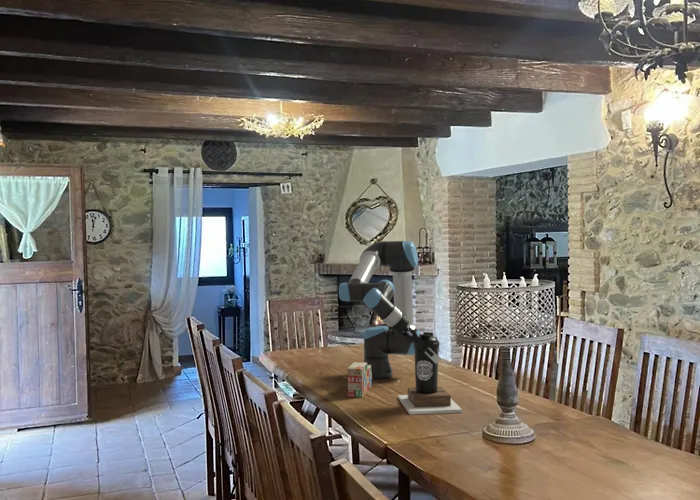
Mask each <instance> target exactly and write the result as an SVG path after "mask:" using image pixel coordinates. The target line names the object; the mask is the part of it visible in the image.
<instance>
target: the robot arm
mask: <svg viewBox="0 0 700 500" xmlns="http://www.w3.org/2000/svg"><path fill="white" fill-rule="evenodd" d="M418 264H419V257H418V251H417V247H416V244H415V243H414V242H413V241H409V240H396V241H395V240H391V241H389V240H387V241H385V240H384V241H382V240H381V241H378V242H375V243H372V244H370V245H369V246H368V247H366V248H365V249H364V250H363V251H362V253H361V254H360V256H359V263H358V265H357V267H355V270H354V272H353V274H352V275H351V277H350V280H349V281H348V282H342V283H340V284H339V287H338V297H339V299H340V300H341V301H342V302H363V303H364V305H366V306H367V308H369V309H370V310H371V311H372V312H373V313H374V314H375V315H376V316H378V318H379V319H380V320H382V324H384V325H380V326H379V325H377V326H372V327H368V328H366V329H365V330H364V332H363V355H364V356H363V358H364V359H363V362H366V363H367V365H371V372H372V380H375V379H376V380H379V379H380V380H381V379H389V378H391V377H393V368H392V366H391V363H390V358H389V355H399V356H400V355H401V356H415V350H414V342H415V343H416V344H417V345H418V346H419V347H420V348H421V349H422V350H423V351H422V353H425V354H426V355H427V356H428V357H429V358H431V359H432V360H433V361H434V362H435V363H437V362H438V363H439V361H440V360H441V357H440V356H439V354H438V355H437V354H436V353H435V352H434V351H432V350H431V349H430V348H429V346H427V345H426V344H425V343H424V342H423V341H422V340H421V339H420V338H419V334H421V331H420V330H419V329H417V325H416V324H415V323H414V310H413V307H414V306H413V285H412V284H413V282H412V281H413V279H412V273H413V272H414V271H415V268H416V267H418ZM379 267H388V269H389V273H391V274H392V281H390V280H388V279H382V280H380V281H379V282H376V283H375V282H374V283H373V282H370V279H371V278H372V276H373V274H374V272H375V270H377V269H378V268H379ZM369 282H370V283H369ZM392 298H393V303H392V302H391V300H392ZM389 328H390V329H389ZM424 346H425V347H424Z"/></svg>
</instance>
